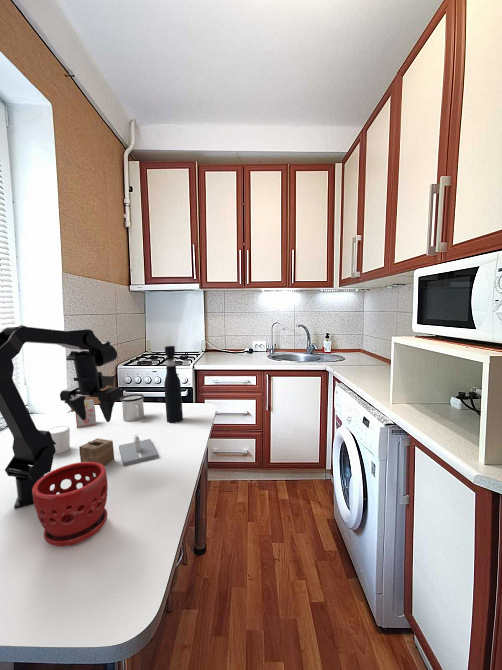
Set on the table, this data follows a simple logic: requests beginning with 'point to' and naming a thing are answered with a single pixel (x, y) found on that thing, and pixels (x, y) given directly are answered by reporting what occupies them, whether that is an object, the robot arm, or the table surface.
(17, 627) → the table surface
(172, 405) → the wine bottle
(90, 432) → the table surface
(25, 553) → the table surface
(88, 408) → the small printed carton
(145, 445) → the switch plate
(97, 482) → the plant pot
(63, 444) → the white cylinder
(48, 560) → the table surface
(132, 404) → the mug
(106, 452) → the hollow wooden cube
